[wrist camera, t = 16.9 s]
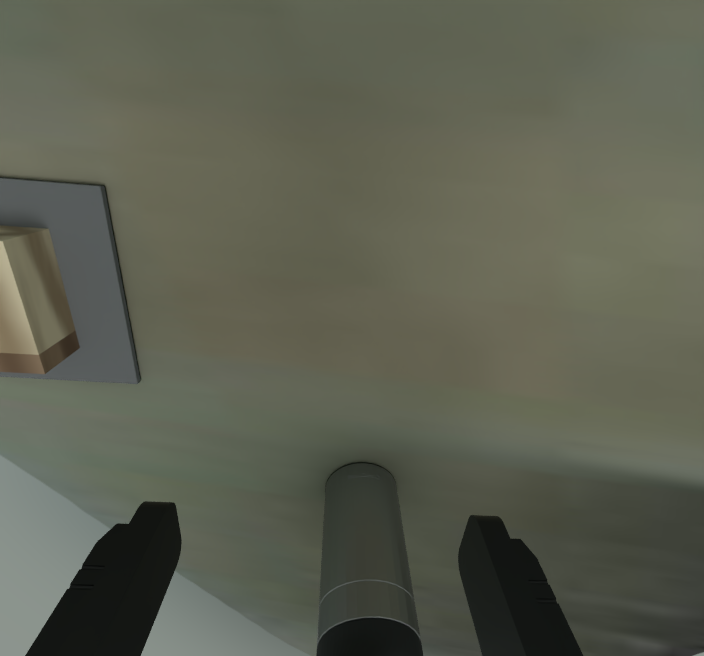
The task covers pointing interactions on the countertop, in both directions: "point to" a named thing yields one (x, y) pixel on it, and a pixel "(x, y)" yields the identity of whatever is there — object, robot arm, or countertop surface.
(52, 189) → the mat
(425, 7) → the countertop surface
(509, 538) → the robot arm
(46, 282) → the maple bar
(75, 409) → the countertop surface
